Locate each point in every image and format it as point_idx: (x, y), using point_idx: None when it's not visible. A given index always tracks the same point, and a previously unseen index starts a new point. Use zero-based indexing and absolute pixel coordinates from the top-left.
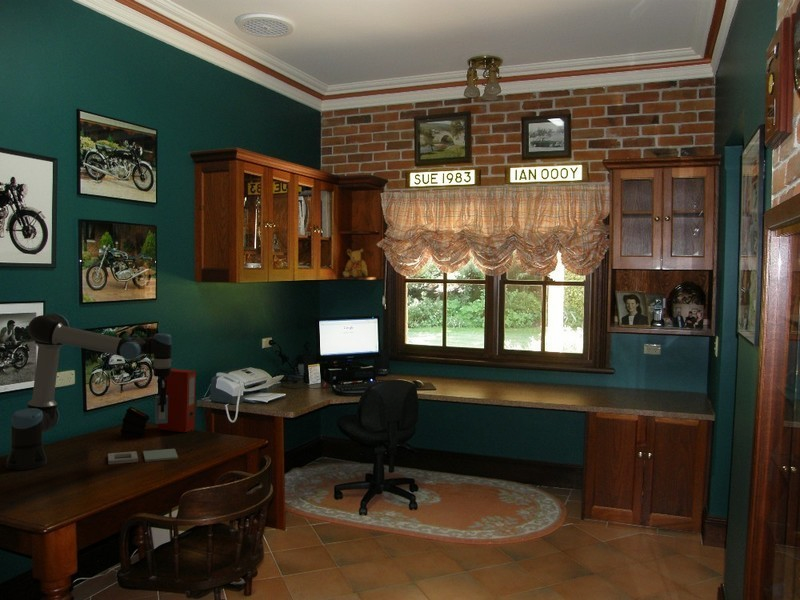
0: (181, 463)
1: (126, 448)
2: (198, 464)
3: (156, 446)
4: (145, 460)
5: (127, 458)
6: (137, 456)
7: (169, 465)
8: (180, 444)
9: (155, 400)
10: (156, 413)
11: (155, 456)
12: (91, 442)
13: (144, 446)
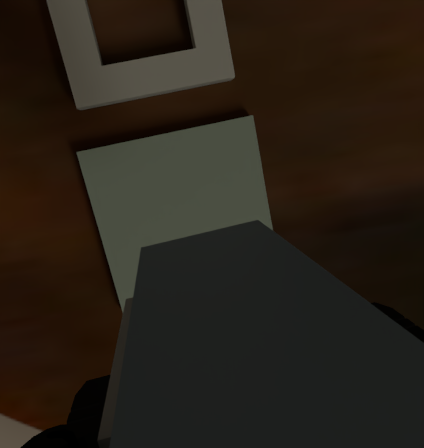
0: (45, 338)
1: (361, 3)
2: (26, 416)
3: (371, 169)
4: (78, 153)
5: (80, 42)
6: (122, 99)
7: (9, 287)
8: (385, 282)
9: (405, 337)
10: (134, 297)
11: (139, 199)
12: None
13: (383, 104)
